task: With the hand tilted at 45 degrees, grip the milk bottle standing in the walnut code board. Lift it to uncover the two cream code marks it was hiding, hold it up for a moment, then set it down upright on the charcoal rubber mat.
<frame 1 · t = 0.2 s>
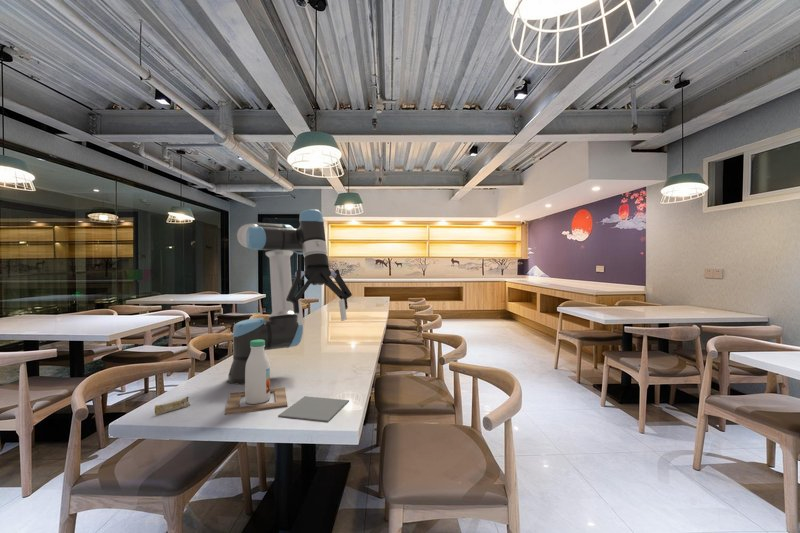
hand: (323, 322, 108), 28 cm above the table, tool tilted 20°, fingers open, 13 cm apart
milk bottle: (257, 401, 118), resting in code board
snack bar: (172, 411, 110), on the table
rubber mat: (315, 408, 111), on the table
code board: (257, 400, 118), on the table
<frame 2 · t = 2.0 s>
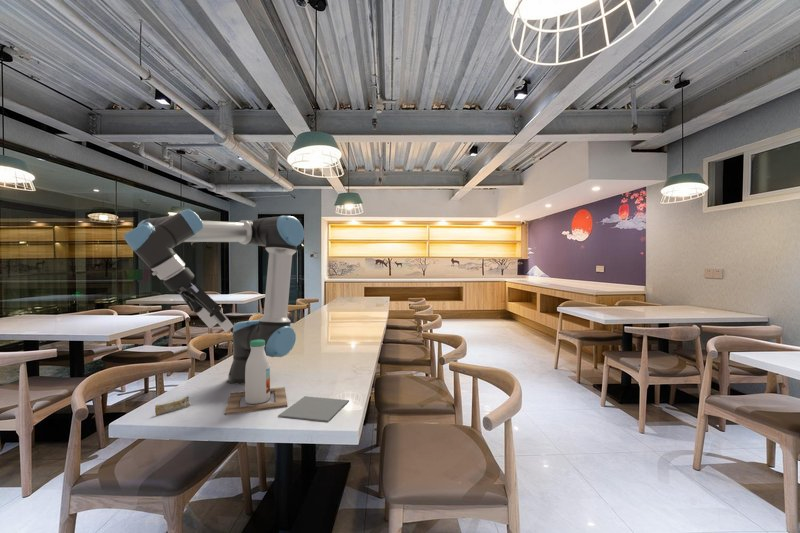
hand: (221, 327, 111), 26 cm above the table, tool tilted 35°, fingers open, 13 cm apart
nothing on the table moved.
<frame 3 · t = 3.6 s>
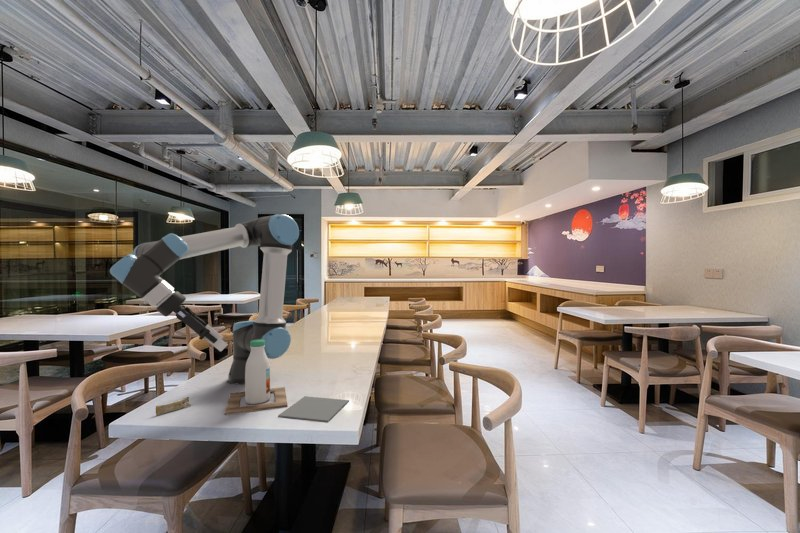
hand: (222, 344, 113), 20 cm above the table, tool tilted 45°, fingers open, 13 cm apart
nothing on the table moved.
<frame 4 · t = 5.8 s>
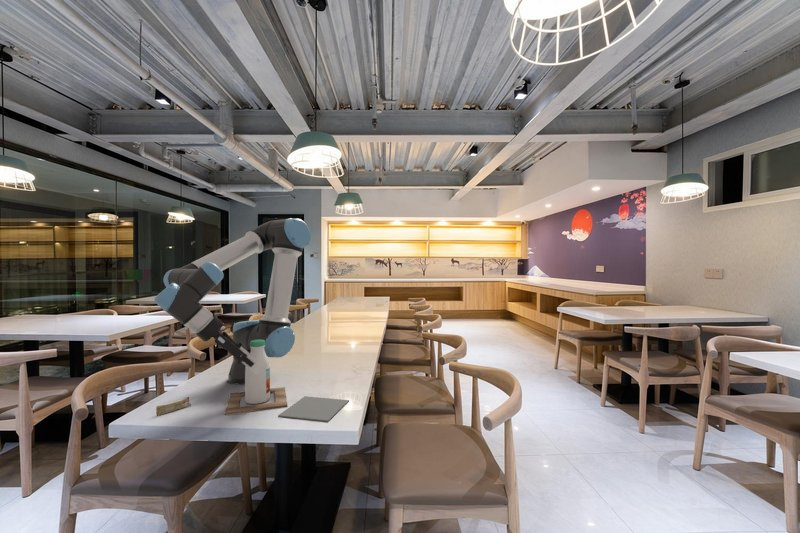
hand: (256, 366, 118), 12 cm above the table, tool tilted 45°, fingers open, 13 cm apart
nothing on the table moved.
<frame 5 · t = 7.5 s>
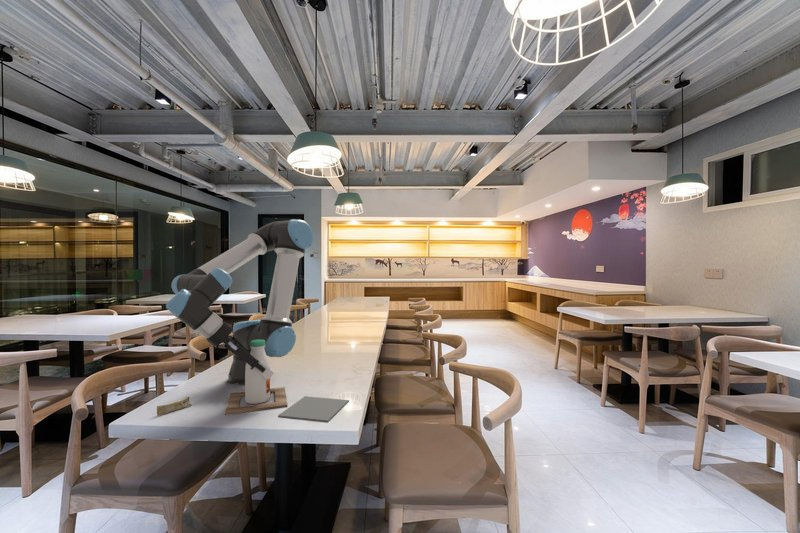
hand: (268, 373, 120), 9 cm above the table, tool tilted 45°, fingers closed on milk bottle, 7 cm apart
milk bottle: (257, 400, 118), resting in code board, touching gripper
everything else where it was.
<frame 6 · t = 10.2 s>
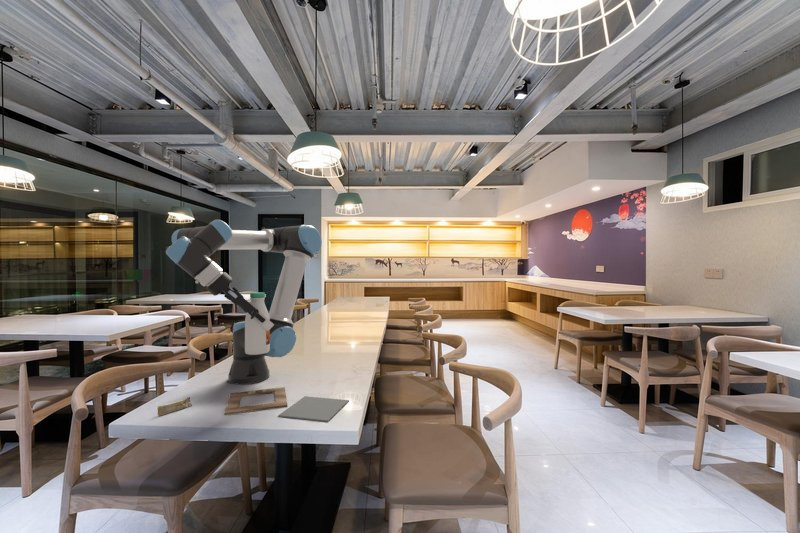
hand: (268, 325, 120), 25 cm above the table, tool tilted 45°, fingers closed on milk bottle, 7 cm apart
milk bottle: (257, 353, 118), point 16 cm above the table, touching gripper
everything else where it was.
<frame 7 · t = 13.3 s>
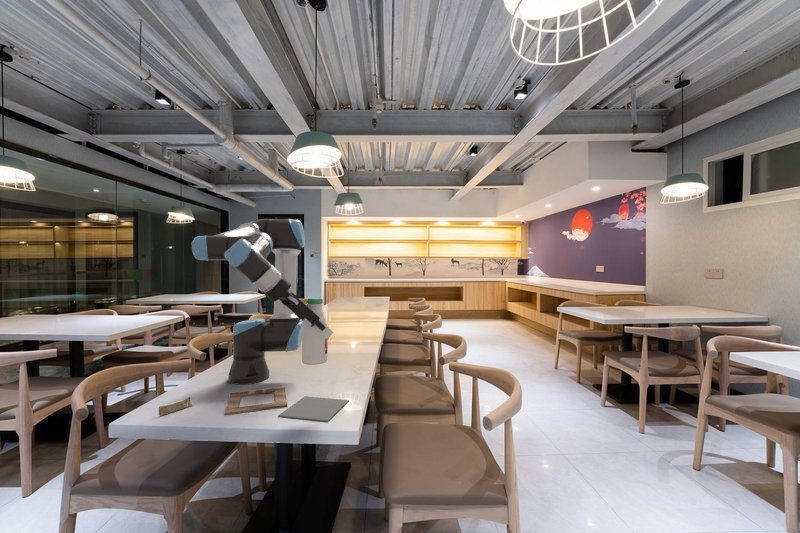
hand: (325, 333, 113), 23 cm above the table, tool tilted 45°, fingers closed on milk bottle, 7 cm apart
milk bottle: (314, 362, 111), point 14 cm above the table, touching gripper
when the fingers open (11 cm above the table, at t = 15.9 s): milk bottle drops 1 cm, resting on rubber mat.
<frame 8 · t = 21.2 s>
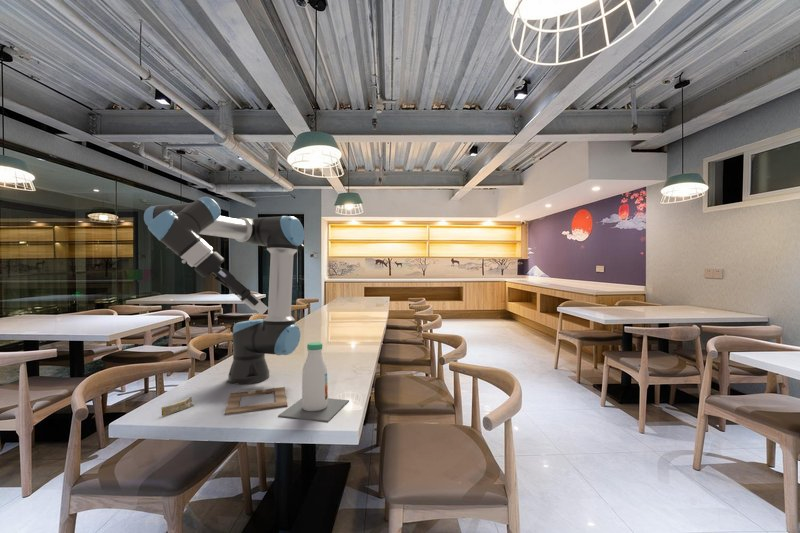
hand: (260, 309, 107), 32 cm above the table, tool tilted 45°, fingers open, 13 cm apart
milk bottle: (314, 407, 111), resting on rubber mat
at the end: milk bottle inside the target area on the rubber mat (0.1 cm from its centre), point 0.2 cm above the rubber mat's base; milk bottle tilted 0°; the gripper is holding nothing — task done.
